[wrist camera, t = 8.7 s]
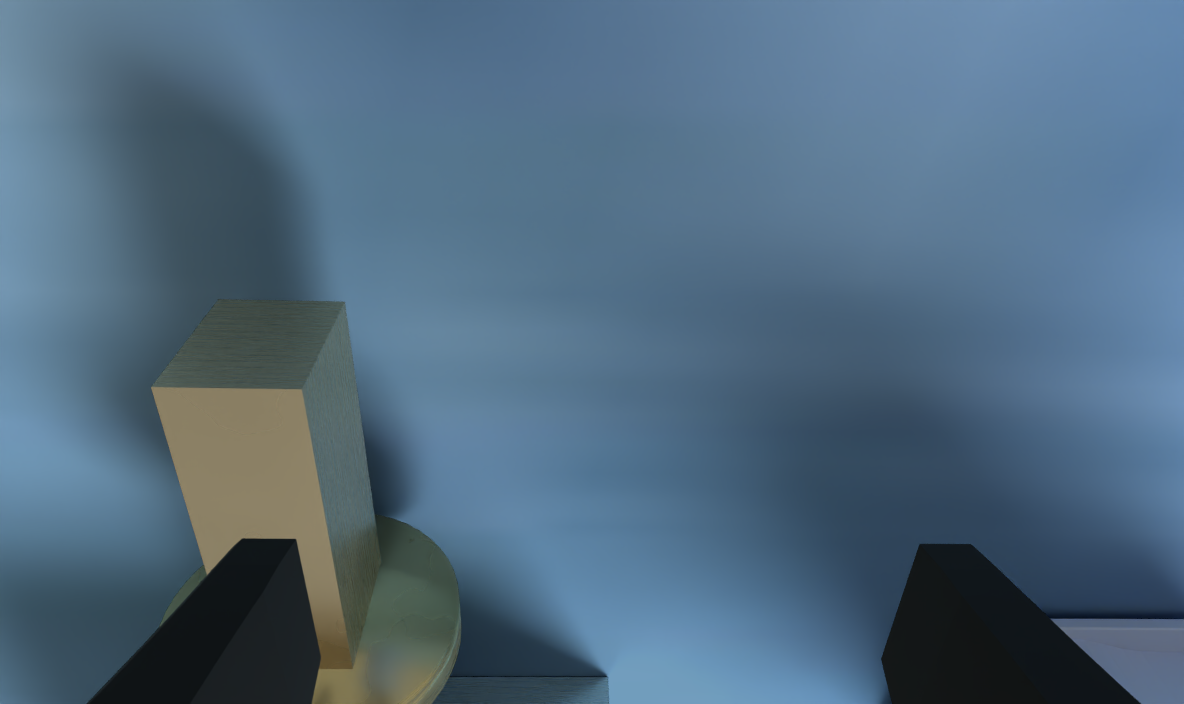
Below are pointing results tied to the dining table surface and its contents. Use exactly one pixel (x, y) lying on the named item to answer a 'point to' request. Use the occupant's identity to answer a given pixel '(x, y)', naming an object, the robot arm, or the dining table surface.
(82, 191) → the dining table surface
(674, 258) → the dining table surface
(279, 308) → the gold trophy
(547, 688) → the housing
